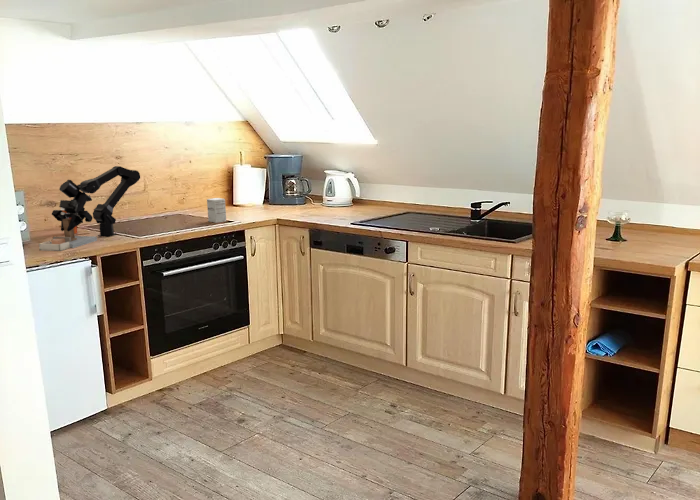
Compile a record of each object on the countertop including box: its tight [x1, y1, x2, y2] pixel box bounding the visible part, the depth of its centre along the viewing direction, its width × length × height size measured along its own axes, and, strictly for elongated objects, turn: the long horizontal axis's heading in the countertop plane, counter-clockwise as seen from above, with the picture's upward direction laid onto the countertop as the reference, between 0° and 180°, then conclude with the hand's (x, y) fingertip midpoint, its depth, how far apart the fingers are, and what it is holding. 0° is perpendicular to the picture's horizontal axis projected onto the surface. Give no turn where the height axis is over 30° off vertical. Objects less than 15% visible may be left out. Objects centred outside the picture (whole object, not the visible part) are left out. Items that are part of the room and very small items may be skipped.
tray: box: [38, 240, 71, 252], centre depth 279 cm, size 6×11×3 cm, turn 75°
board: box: [50, 235, 98, 249], centre depth 291 cm, size 17×14×2 cm
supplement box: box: [206, 197, 227, 224], centre depth 341 cm, size 7×7×13 cm
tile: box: [50, 238, 65, 244], centre depth 282 cm, size 4×4×2 cm
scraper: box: [52, 218, 77, 242], centre depth 286 cm, size 7×9×10 cm
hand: (64, 230), depth 286 cm, fingers closed on scraper, 3 cm apart
